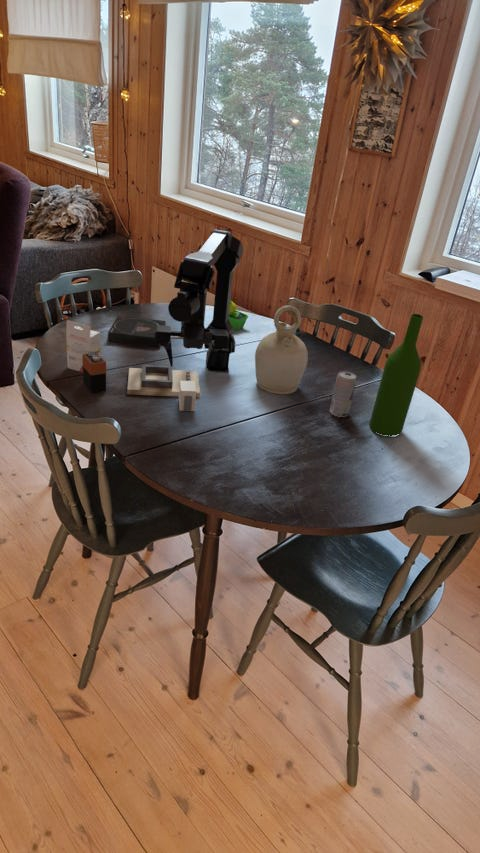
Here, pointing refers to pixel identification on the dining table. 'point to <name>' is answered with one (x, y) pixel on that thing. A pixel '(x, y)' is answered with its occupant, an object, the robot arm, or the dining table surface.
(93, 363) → the battery
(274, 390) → the jug
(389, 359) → the wine bottle
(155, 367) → the header board
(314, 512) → the dining table surface
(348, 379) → the energy drink
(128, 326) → the portable cd player
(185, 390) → the plug
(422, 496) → the dining table surface
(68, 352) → the ink cartridge box
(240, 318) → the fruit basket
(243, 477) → the dining table surface
